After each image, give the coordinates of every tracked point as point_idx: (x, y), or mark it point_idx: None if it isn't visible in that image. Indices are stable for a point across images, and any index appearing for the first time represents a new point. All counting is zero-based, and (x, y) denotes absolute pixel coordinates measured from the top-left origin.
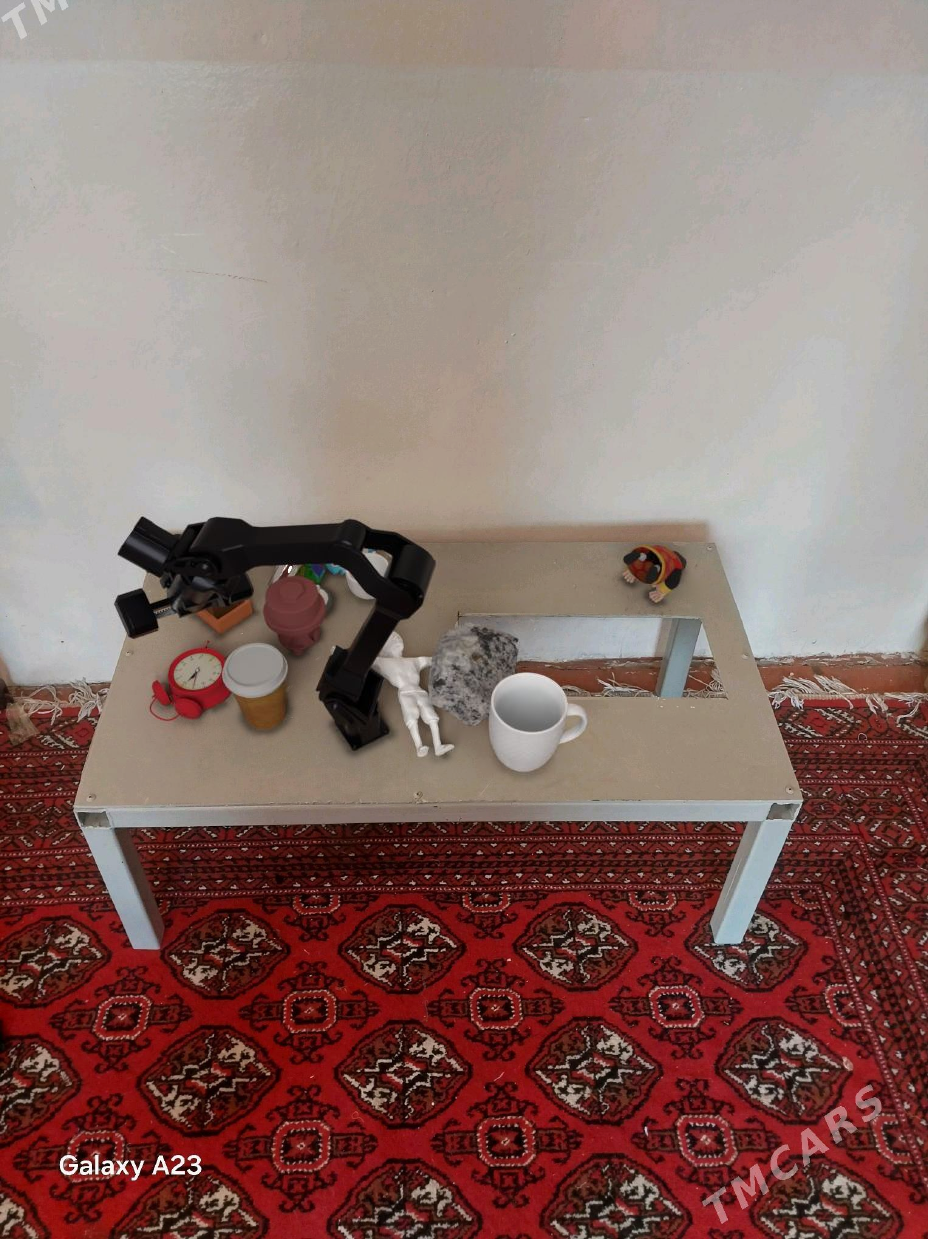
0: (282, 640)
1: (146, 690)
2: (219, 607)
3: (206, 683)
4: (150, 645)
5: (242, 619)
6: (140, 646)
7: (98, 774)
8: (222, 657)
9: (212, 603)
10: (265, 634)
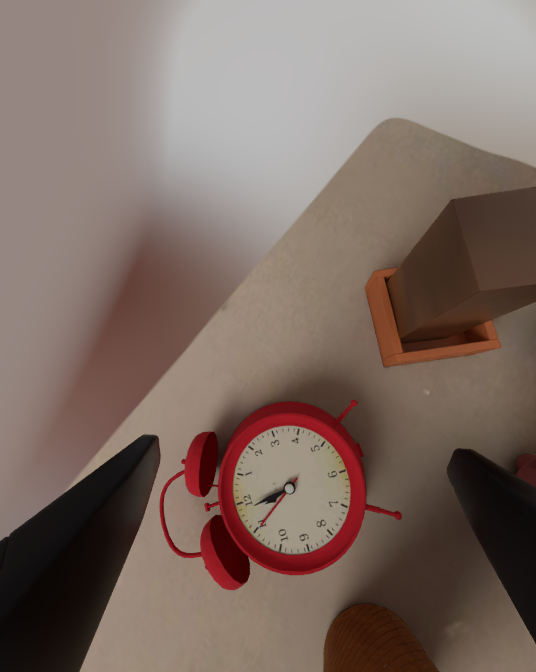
0: None
1: (199, 407)
2: (427, 332)
3: (289, 541)
4: (257, 309)
5: (445, 358)
6: (242, 300)
7: None
8: (362, 494)
9: (533, 611)
10: (473, 428)
